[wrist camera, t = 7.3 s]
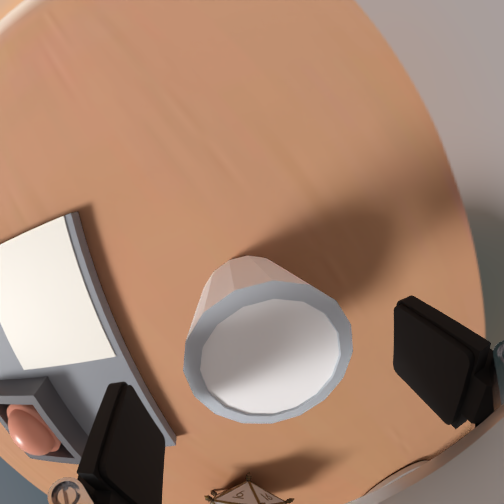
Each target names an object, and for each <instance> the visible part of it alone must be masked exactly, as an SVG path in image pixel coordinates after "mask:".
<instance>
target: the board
mask: <svg viewBox="0 0 504 504" xmlns="http://www.w3.org/2000/svg"><path fill="white" fill-rule="evenodd" d="M123 381H124V382H126V383H127V384H128V385H132V386H133V388H134V389H135V391H136V393H137V395H138V396H139V398H140V400H141V401H142V403H143V404H144V406H145V408H146V409H147V411H148V412H149V414H150V416H151V417H152V419H153V420H154V422H155V423H156V425H157V426H158V428H159V429H160V431H161V432H162V434H163V435H164V438H165V447H166V446H174V445H176V435H175V434H174V432H173V431H172V429H171V427H170V426H169V424H168V423H167V421H166V419H165V418H164V416H163V414H162V413H161V411H160V409H159V408H158V406H157V404H156V402H155V401H154V399H153V397H152V395H151V394H150V392H149V390H148V388H147V386H146V385H145V383H144V381H143V379H142V377H141V375H140V373H139V371H138V369H137V367H136V365H135V363H134V361H133V359H132V357H131V355H130V353H129V351H128V349H127V347H126V345H125V342H124V340H123V338H122V336H121V334H120V331H119V329H118V327H117V325H116V322H115V320H114V317H113V315H112V313H111V310H110V308H109V305H108V303H107V300H106V298H105V295H104V292H103V290H102V287H101V284H100V282H99V279H98V276H97V273H96V270H95V267H94V264H93V261H92V258H91V255H90V252H89V249H88V245H87V242H86V239H85V235H84V232H83V228H82V225H81V221H80V217H79V213H78V212H74V213H70V214H67V215H65V216H62V217H59V218H57V219H55V220H52V221H50V222H48V223H45V224H43V225H41V226H38V227H36V228H34V229H32V230H30V231H27V232H25V233H23V234H21V235H19V236H17V237H15V238H13V239H10V240H8V241H6V242H4V243H2V244H0V422H1V423H2V425H3V426H4V427H5V429H6V430H7V431H8V433H9V434H10V432H9V429H8V416H7V408H8V407H9V405H10V404H17V405H33V406H34V407H35V409H36V410H37V412H38V413H39V414H40V416H41V417H42V419H43V420H44V421H45V423H46V424H47V425H48V427H49V428H50V429H51V430H52V432H53V433H54V434H55V435H56V437H57V438H58V439H59V440H60V442H61V445H60V447H59V449H58V450H57V451H54V452H49V453H47V454H45V455H40V456H37V455H32V454H29V453H27V452H25V451H24V452H25V453H26V454H27V455H28V456H29V457H30V458H32V459H38V460H45V461H52V462H60V463H70V464H80V460H81V457H82V454H83V451H84V448H85V445H86V443H87V440H88V437H89V434H90V431H91V428H92V426H93V423H94V420H95V418H96V415H97V412H98V410H99V407H100V404H101V402H102V399H103V397H104V394H105V392H106V389H107V387H108V385H109V384H110V383H117V382H123Z"/></svg>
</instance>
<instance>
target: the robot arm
mask: <svg viewBox="0 0 504 504" xmlns="http://www.w3.org/2000/svg"><path fill="white" fill-rule="evenodd" d="M490 345H491V343H490V342H489V341H487V340H486V339H484V338H483V337H481V336H479V335H478V334H476V333H475V332H473V331H471V330H470V329H468V328H466V327H465V326H463V325H462V324H460V323H458V322H457V321H455V320H453V319H452V318H450V317H448V316H447V315H445V314H443V313H442V312H440V311H438V310H437V309H435V308H433V307H432V306H430V305H428V304H426V303H425V302H423V301H421V300H420V299H418V298H416V297H414V296H409V297H407V298H404V299H402V300H400V301H398V302H397V306H396V307H395V308H394V357H393V366H394V370H395V372H396V373H397V374H398V375H399V376H400V377H401V378H402V379H403V380H404V381H405V382H406V383H407V384H408V385H409V386H410V387H411V388H412V389H413V390H414V391H415V392H416V393H417V394H418V395H419V397H420V398H421V399H422V400H423V401H424V402H425V403H426V404H427V405H428V406H429V407H430V408H431V409H432V410H433V411H434V412H435V413H436V414H437V415H438V416H439V417H440V418H441V419H442V420H443V421H444V422H445V423H446V424H448V425H450V424H451V425H452V426H453V427H454V428H455V429H456V428H458V427H459V426H460V425H462V424H463V423H464V422H466V421H467V419H468V420H469V421H470V422H471V432H469V433H468V434H467V435H465V436H464V437H463V438H461V439H460V440H459V441H457V442H456V443H455V444H453V445H452V446H451V447H449V448H448V449H446V450H445V451H443V452H442V453H440V454H439V455H438V456H436V457H434V458H433V459H431V460H430V461H420V462H417V463H414V464H412V465H410V466H408V467H406V468H404V469H402V470H400V471H398V472H396V473H395V474H393V475H391V476H390V477H388V478H387V479H385V480H383V481H382V482H381V483H379V484H378V485H376V486H375V487H374V488H372V489H371V490H370V491H369V492H368V493H366V494H365V495H364V496H363V497H360V498H358V499H356V500H353V501H351V502H348V503H346V504H504V340H503V341H502V342H499V343H498V344H497V345H496V346H495V347H494V350H491V349H490ZM164 455H165V438H164V435H163V434H162V432H161V431H160V429H159V428H158V426H157V425H156V423H155V422H154V420H153V419H152V417H151V416H150V414H149V412H148V411H147V409H146V408H145V406H144V404H143V403H142V401H141V400H140V398H139V396H138V395H137V393H136V391H135V389H134V388H133V386H132V385H128V384H127V383H126V382H124V381H123V382H117V383H110V384H109V385H108V387H107V389H106V392H105V394H104V397H103V399H102V402H101V404H100V407H99V410H98V412H97V415H96V418H95V420H94V423H93V426H92V428H91V431H90V434H89V437H88V440H87V443H86V445H85V448H84V451H83V454H82V457H81V460H80V464H79V467H78V470H77V473H78V474H79V476H78V479H75V478H71V477H65V478H62V479H59V480H57V481H56V482H55V483H54V484H53V485H52V486H51V487H50V489H49V492H48V502H49V504H162V486H163V469H164Z"/></svg>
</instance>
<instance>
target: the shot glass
mask: <svg viewBox="0 0 504 504" xmlns="http://www.w3.org/2000/svg"><path fill="white" fill-rule="evenodd" d="M352 352H353V347H352V332H351V324H350V322H349V321H348V319H347V317H346V316H345V314H344V312H343V311H342V309H341V308H340V306H339V304H338V303H337V301H336V300H334V299H333V298H331V297H329V296H328V295H326V294H324V293H323V292H321V291H320V290H318V289H316V288H315V287H313V286H311V285H310V284H308V283H307V282H305V281H303V280H302V279H300V278H298V277H297V276H295V275H293V274H292V273H290V272H289V271H287V270H285V269H284V268H282V267H280V266H279V265H277V264H275V263H274V262H272V261H270V260H269V259H267V258H263V257H256V256H248V255H247V256H243V257H239V258H235V259H231V260H228V261H227V262H226V263H224V264H223V265H222V266H220V267H219V268H217V269H216V270H215V271H213V273H212V275H211V276H210V278H209V280H208V281H207V283H206V285H205V286H204V289H203V292H202V294H201V297H200V300H199V303H198V306H197V309H196V312H195V315H194V318H193V321H192V324H191V327H190V330H189V333H188V336H187V339H186V343H185V355H184V368H183V371H184V374H185V376H186V378H187V381H188V383H189V385H190V388H191V390H192V392H193V394H194V396H195V397H196V398H197V399H198V400H199V401H201V402H202V403H203V404H204V405H205V406H206V407H208V408H209V409H210V410H211V411H212V412H214V413H215V414H217V415H220V416H223V417H225V418H228V419H231V420H234V421H237V422H240V423H275V422H279V421H282V420H286V419H289V418H292V417H296V416H299V415H301V414H303V413H304V412H306V411H308V410H309V409H311V408H312V407H314V406H315V405H317V404H319V403H320V402H322V401H323V400H325V399H326V398H327V396H328V395H329V394H330V393H331V392H332V391H333V389H334V388H335V387H336V386H337V385H338V383H339V382H340V381H341V380H342V378H343V377H344V374H345V372H346V369H347V366H348V364H349V361H350V358H351V355H352Z"/></svg>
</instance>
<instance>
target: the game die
mask: <svg viewBox="0 0 504 504" xmlns="http://www.w3.org/2000/svg"><path fill="white" fill-rule="evenodd" d="M250 479H251V475H250V473H248V474H247V475H246V481H245V482H243V483H241V484H239V485H237V486H234V487H232V488H230V489H228V490H226V491H223V492H221V493H219V494H217V492H215V491H211V494H212V495H213V496H214V498H212V497H210V496H205V498H206V500H208V501H211V502H210V504H287V503H291V502H293V500H294V498H289V499H287V500H286V501H284V500H282V499H280V498H278V497H277V496H275V495H273V494H271V493H269V492H268V491H266V490H264V489H262V488H261V487H259V486H257V485H256V484H254V483H252V482H251V481H250Z"/></svg>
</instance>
